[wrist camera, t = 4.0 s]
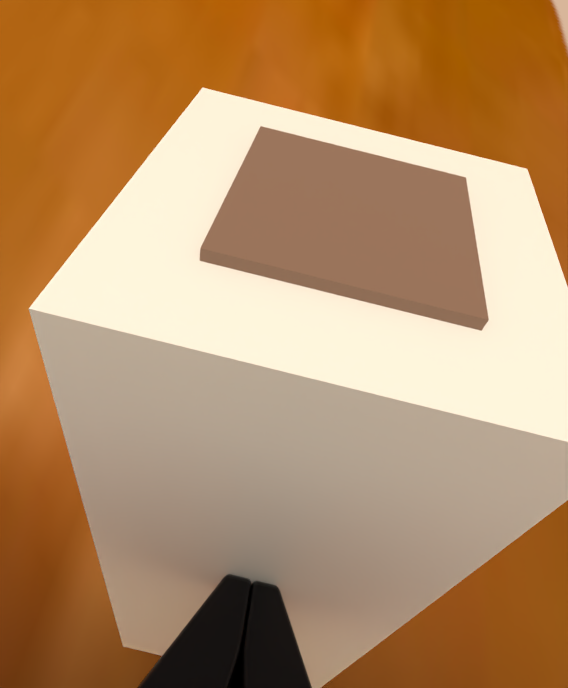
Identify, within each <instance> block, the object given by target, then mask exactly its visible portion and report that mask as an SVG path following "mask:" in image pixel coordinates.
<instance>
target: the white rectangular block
mask: <svg viewBox="0 0 568 688" xmlns="http://www.w3.org/2000/svg"><path fill="white" fill-rule="evenodd" d="M29 311H30V315H31V318H32V322H33V325H34V329H35V333H36V336H37V340H38V343H39V347H40V351H41V354H42V358H43V361H44V365H45V368H46V372H47V376H48V379H49V383H50V386H51V390H52V394H53V397H54V401H55V404H56V408H57V412H58V415H59V419H60V422H61V426H62V429H63V433H64V437H65V440H66V444H67V447H68V451H69V455H70V458H71V462H72V465H73V469H74V472H75V476H76V480H77V483H78V487H79V490H80V494H81V498H82V501H83V505H84V508H85V512H86V515H87V519H88V523H89V526H90V530H91V533H92V537H93V541H94V544H95V548H96V551H97V555H98V558H99V562H100V566H101V569H102V573H103V576H104V580H105V584H106V587H107V591H108V594H109V598H110V601H111V605H112V609H113V612H114V616H115V619H116V623H117V627H118V630H119V634H120V637H121V641H122V644H123V647H128V648H132V649H136V650H140V651H144V652H148V653H152V654H156V655H160V656H162V655H163V654H164V653H165V652H166V650H167V649H168V648H169V646H170V645H171V644H172V643H173V641H174V640H175V639H176V637H177V636H178V635H179V634H180V632H181V631H182V630H183V629H184V627H185V626H186V625H187V623H188V622H189V621H190V620H191V618H192V617H193V616H194V614H195V613H196V612H197V611H198V609H199V608H200V607H201V606H202V604H203V603H204V602H205V600H206V599H207V598H208V597H209V595H210V594H211V593H212V592H213V590H214V589H215V588H216V586H217V585H218V584H219V583H220V581H221V580H222V579H223V578H224V577H225V576H226V575H227V574H232V575H236V576H240V577H244V578H248V579H250V581H251V585H252V583H253V582H254V581H261V582H265V583H269V584H273V585H276V586H277V587H278V588H279V590H280V592H281V595H282V598H283V601H284V604H285V607H286V610H287V613H288V616H289V619H290V622H291V625H292V628H293V631H294V634H295V637H296V640H297V644H298V647H299V650H300V653H301V656H302V659H303V662H304V665H305V668H306V671H307V674H308V677H309V680H310V683H311V686H312V688H321V687H322V686H323V685H325V684H326V683H327V682H329V681H330V680H331V679H333V678H334V677H335V676H337V675H338V674H339V673H341V672H342V671H343V670H345V669H346V668H347V667H348V666H350V665H351V664H352V663H354V662H355V661H356V660H358V659H359V658H360V657H362V656H363V655H364V654H366V653H367V652H368V651H370V650H371V649H372V648H373V647H375V646H376V645H377V644H379V643H380V642H381V641H383V640H384V639H385V638H387V637H388V636H389V635H391V634H392V633H393V632H395V631H396V630H397V629H398V628H400V627H401V626H402V625H404V624H405V623H406V622H408V621H409V620H410V619H412V618H413V617H414V616H416V615H417V614H418V613H420V612H421V611H422V610H423V609H425V608H426V607H427V606H429V605H430V604H431V603H433V602H434V601H435V600H437V599H438V598H439V597H441V596H442V595H443V594H445V593H446V592H447V591H448V590H450V589H451V588H452V587H454V586H455V585H456V584H458V583H459V582H460V581H462V580H463V579H464V578H466V577H467V576H468V575H470V574H471V573H472V572H473V571H475V570H476V569H477V568H479V567H480V566H481V565H483V564H484V563H485V562H487V561H488V560H489V559H491V558H492V557H493V556H495V555H496V554H497V553H498V552H500V551H501V550H502V549H504V548H505V547H506V546H508V545H509V544H510V543H512V542H513V541H514V540H516V539H517V538H518V537H520V536H521V535H522V534H523V533H525V532H526V531H527V530H529V529H530V528H531V527H533V526H534V525H535V524H537V523H538V522H539V521H541V520H542V519H543V518H545V517H546V516H547V515H548V514H550V513H551V512H552V511H554V510H555V509H556V508H558V507H559V506H560V505H562V504H563V503H564V502H566V501H567V500H568V287H567V284H566V281H565V278H564V275H563V272H562V269H561V267H560V264H559V261H558V258H557V255H556V252H555V249H554V246H553V243H552V240H551V237H550V234H549V231H548V229H547V226H546V223H545V220H544V217H543V214H542V211H541V208H540V205H539V202H538V199H537V196H536V193H535V190H534V188H533V185H532V182H531V179H530V176H529V173H528V170H527V169H525V168H521V167H517V166H513V165H509V164H505V163H501V162H497V161H493V160H489V159H485V158H481V157H477V156H473V155H469V154H465V153H461V152H457V151H453V150H449V149H445V148H441V147H437V146H433V145H429V144H425V143H421V142H417V141H413V140H409V139H405V138H401V137H397V136H393V135H389V134H385V133H381V132H377V131H373V130H369V129H365V128H361V127H357V126H353V125H349V124H345V123H341V122H337V121H333V120H329V119H325V118H321V117H318V116H314V115H310V114H306V113H302V112H298V111H294V110H290V109H286V108H282V107H278V106H274V105H270V104H266V103H262V102H258V101H254V100H250V99H246V98H242V97H238V96H234V95H230V94H226V93H222V92H218V91H214V90H210V89H206V88H202V89H201V91H200V92H199V93H198V94H197V96H196V97H195V98H194V99H193V101H192V102H191V103H190V105H189V106H188V107H187V108H186V110H185V111H184V112H183V113H182V115H181V116H180V117H179V118H178V120H177V121H176V122H175V124H174V125H173V126H172V127H171V129H170V130H169V131H168V132H167V134H166V135H165V136H164V138H163V139H162V140H161V141H160V143H159V144H158V145H157V146H156V148H155V149H154V150H153V152H152V153H151V154H150V155H149V157H148V158H147V159H146V160H145V162H144V163H143V164H142V165H141V167H140V168H139V169H138V171H137V172H136V173H135V174H134V176H133V177H132V178H131V179H130V181H129V182H128V183H127V185H126V186H125V187H124V188H123V190H122V191H121V192H120V193H119V195H118V196H117V197H116V198H115V200H114V201H113V202H112V204H111V205H110V206H109V207H108V209H107V210H106V211H105V212H104V214H103V215H102V216H101V218H100V219H99V220H98V221H97V223H96V224H95V225H94V226H93V228H92V229H91V230H90V232H89V233H88V234H87V235H86V237H85V238H84V239H83V240H82V242H81V243H80V244H79V245H78V247H77V248H76V249H75V251H74V252H73V253H72V254H71V256H70V257H69V258H68V259H67V261H66V262H65V263H64V265H63V266H62V267H61V268H60V270H59V271H58V272H57V273H56V275H55V276H54V277H53V278H52V280H51V281H50V282H49V284H48V285H47V286H46V287H45V289H44V290H43V291H42V292H41V294H40V295H39V296H38V298H37V299H36V300H35V301H34V303H33V304H32V305H31V306H30V308H29Z"/></svg>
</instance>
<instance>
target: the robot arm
mask: <svg viewBox="0 0 568 688" xmlns="http://www.w3.org/2000/svg"><path fill="white" fill-rule="evenodd" d="M137 688H312V686H311V683H310V680H309V677H308V674H307V671H306V668H305V665H304V662H303V659H302V656H301V653H300V650H299V647H298V644H297V640H296V637H295V634H294V631H293V628H292V625H291V622H290V619H289V616H288V613H287V610H286V607H285V604H284V601H283V598H282V595H281V592H280V590H279V588H278V587H277V586H276V585H273V584H269V583H265V582H261V581H254V582H253V583H252V585H251V581H250V579H248V578H244V577H240V576H236V575H232V574H227V575H226V576H225V577H224V578H223V579H222V580H221V581H220V583H219V584H218V585H217V586H216V588H215V589H214V590H213V592H212V593H211V594H210V595H209V597H208V598H207V599H206V600H205V602H204V603H203V604H202V606H201V607H200V608H199V609H198V611H197V612H196V613H195V614H194V616H193V617H192V618H191V620H190V621H189V622H188V623H187V625H186V626H185V627H184V629H183V630H182V631H181V632H180V634H179V635H178V636H177V637H176V639H175V640H174V641H173V643H172V644H171V645H170V646H169V648H168V649H167V650H166V652H165V653H164V654H163V655H162V657H161V658H160V659H159V660H158V662H157V663H156V664H155V666H154V667H153V668H152V669H151V671H150V672H149V673H148V674H147V676H146V677H145V678H144V680H143V681H142V682H141V683H140V685H139V686H138V687H137Z"/></svg>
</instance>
